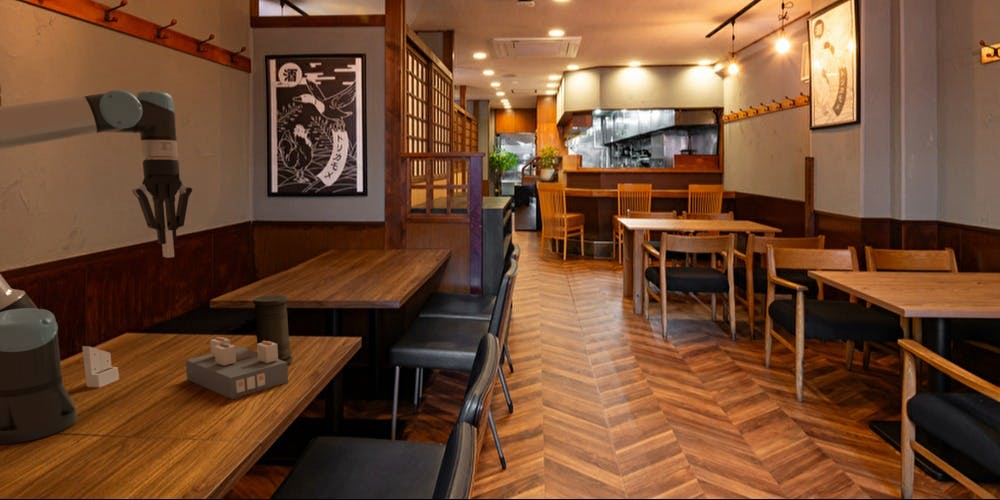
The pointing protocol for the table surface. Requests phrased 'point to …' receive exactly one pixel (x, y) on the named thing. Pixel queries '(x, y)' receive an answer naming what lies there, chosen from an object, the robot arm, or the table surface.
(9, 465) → the table surface
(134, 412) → the table surface
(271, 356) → the knob near
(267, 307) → the container
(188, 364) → the switch unit
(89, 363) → the white wedge bracket
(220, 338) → the knob far
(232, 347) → the knob mid
